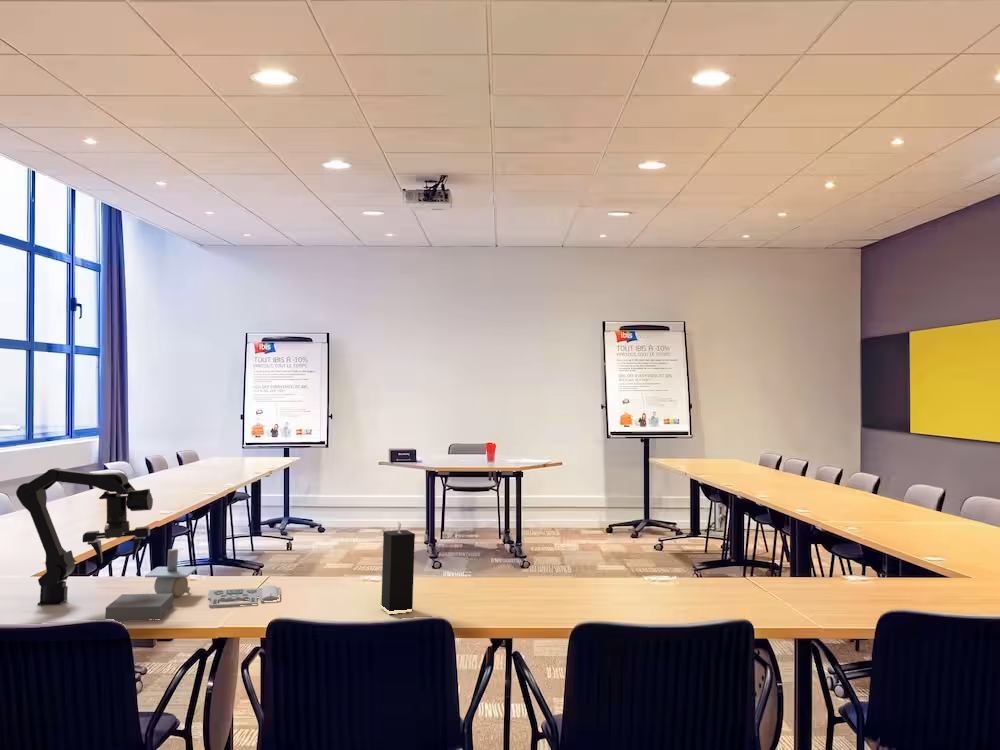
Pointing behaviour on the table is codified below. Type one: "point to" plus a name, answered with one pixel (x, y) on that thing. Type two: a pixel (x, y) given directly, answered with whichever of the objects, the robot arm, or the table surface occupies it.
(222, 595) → the office telephone
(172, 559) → the square plate with knob
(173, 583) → the ceramic mug
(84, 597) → the table surface
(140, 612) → the gray square slab
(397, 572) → the black pillar candle
